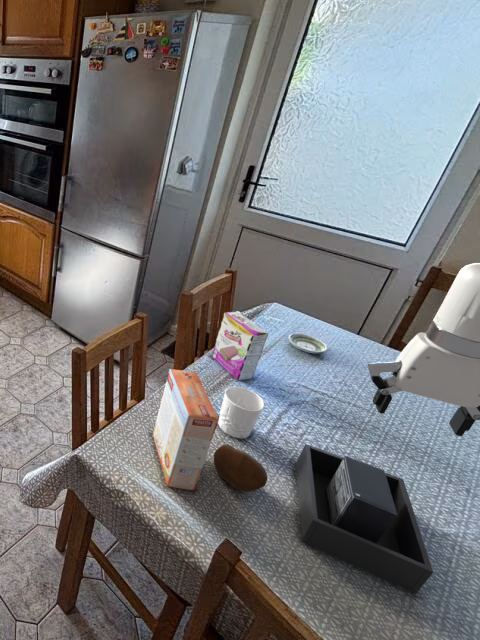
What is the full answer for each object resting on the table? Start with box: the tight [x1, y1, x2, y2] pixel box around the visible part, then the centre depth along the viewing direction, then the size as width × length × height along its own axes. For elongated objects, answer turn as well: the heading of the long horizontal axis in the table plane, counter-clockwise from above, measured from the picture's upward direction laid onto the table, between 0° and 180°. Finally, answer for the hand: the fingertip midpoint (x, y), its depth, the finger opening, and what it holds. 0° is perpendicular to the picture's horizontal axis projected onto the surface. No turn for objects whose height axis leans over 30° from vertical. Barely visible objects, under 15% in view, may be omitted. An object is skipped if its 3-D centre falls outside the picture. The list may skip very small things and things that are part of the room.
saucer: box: [288, 332, 328, 354], centre depth 128 cm, size 10×10×2 cm
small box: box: [325, 455, 397, 544], centre depth 78 cm, size 11×6×10 cm, turn 147°
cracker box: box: [152, 368, 219, 491], centre depth 89 cm, size 14×6×21 cm, turn 170°
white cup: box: [217, 385, 265, 439], centre depth 99 cm, size 8×8×10 cm
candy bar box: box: [211, 310, 269, 381], centre depth 118 cm, size 11×5×16 cm, turn 9°
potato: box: [213, 443, 268, 492], centre depth 87 cm, size 7×10×8 cm
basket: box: [295, 443, 434, 595], centre depth 79 cm, size 16×20×7 cm
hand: (415, 418), depth 72 cm, fingers open, 9 cm apart
